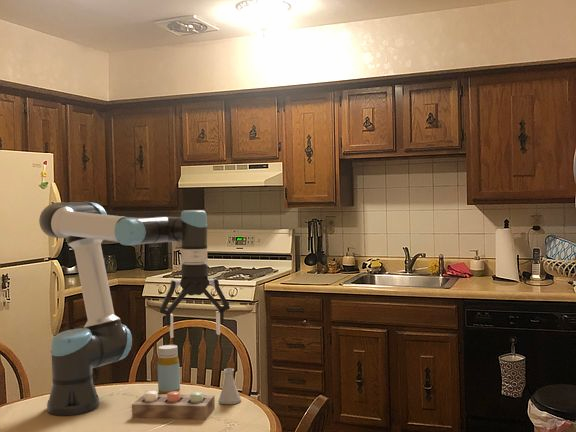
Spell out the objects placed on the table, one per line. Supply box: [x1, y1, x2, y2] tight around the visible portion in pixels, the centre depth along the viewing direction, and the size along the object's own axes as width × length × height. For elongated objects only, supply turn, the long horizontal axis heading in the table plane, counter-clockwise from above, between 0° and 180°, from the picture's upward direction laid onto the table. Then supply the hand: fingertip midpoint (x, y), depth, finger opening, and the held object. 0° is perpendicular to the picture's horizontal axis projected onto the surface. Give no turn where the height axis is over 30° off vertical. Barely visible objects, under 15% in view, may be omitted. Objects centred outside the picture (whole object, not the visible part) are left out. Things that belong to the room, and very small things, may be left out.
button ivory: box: [143, 390, 159, 402], centre depth 184 cm, size 4×4×4 cm
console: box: [131, 393, 216, 421], centre depth 183 cm, size 22×10×4 cm, turn 82°
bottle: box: [157, 344, 181, 394], centre depth 204 cm, size 7×7×15 cm
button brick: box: [167, 391, 181, 402], centre depth 183 cm, size 4×4×4 cm
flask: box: [218, 368, 242, 405], centre depth 193 cm, size 7×7×10 cm
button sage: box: [189, 391, 204, 403], centre depth 182 cm, size 4×4×4 cm
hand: (195, 335), depth 181 cm, fingers open, 13 cm apart
